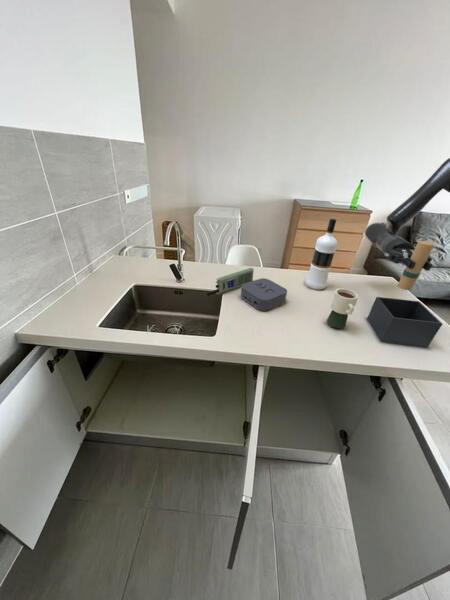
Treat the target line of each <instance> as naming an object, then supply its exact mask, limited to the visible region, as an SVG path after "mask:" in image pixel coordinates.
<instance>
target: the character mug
mask: <svg viewBox="0 0 450 600" xmlns="http://www.w3.org/2000/svg"><path fill="white" fill-rule="evenodd" d="M358 299H359V294H358V293H357V292H356V291H354V290H351V289H349V288H343V287H341V288H336V289H335V291H334V294H333V298H332V300H331V303H330V309H331V311H330V313H329V315H328V316H327V319H326V323H327V325H328V326H330V327H332V328H335V329H339V330H340V329H341V330H344V329H345V328H346V326H347V324H348V323H347V322H348V318H349V316H350V315H352V314H353V312H354V310H355V309H354V308H355V307H356V304H357V303H358V302H357V301H358Z"/></svg>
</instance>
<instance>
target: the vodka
mask: <svg viewBox="0 0 450 600" xmlns="http://www.w3.org/2000/svg"><path fill="white" fill-rule="evenodd" d="M337 220H338V219H336V218H329V222H328V224H327V228H326V232H325V234H324V235H322V236H319V237H318V238H317V239H316V242H315V245H314V252H313V255H312V259H311V263H310V268H309V271H308V274H307V277H306V278H305V281H304V282H305V285H306V286H307V287H308V288H310V289H313V290H317V291H318V290H324V289H325V288H326V287H327V285H328V278H329V273H330V270H331V269H332V263H333V260H334V256H335V253H336V251H337V247H338V240H337V239H336V238H335V237H334V236H333V234H334V231H335V227H336V223H337Z"/></svg>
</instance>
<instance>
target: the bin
mask: <svg viewBox="0 0 450 600" xmlns="http://www.w3.org/2000/svg"><path fill="white" fill-rule="evenodd" d="M366 320H367V321H368V323H369V324H370V326H371V327H372V329H373V331H374V333H375V334H376V336H377V337H378V339H379V341H380V342H381V343H386V344H395V345H403V346H412V347H420V348H427V349H428V347H429V346H430V344H431V343H432V341H433V340H434V338H435V337H436V335H437V333H438V332H439V331H440V329H441V327H442V326H443V322H441V320H440V319H438V318H437V317H436V316H435V315H434V314H433V313H432V312H431V311H430V310H429V309H428V308H427V307H426V306H425V305H424V304H422V302H421V301H419V300H411V299H402V298H392V297H382V296H376V297H375V299H374V301H373V303H372V306H371V309H370V311H369V313H368V315H367V317H366Z"/></svg>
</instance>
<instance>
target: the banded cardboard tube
mask: <svg viewBox="0 0 450 600" xmlns="http://www.w3.org/2000/svg"><path fill="white" fill-rule="evenodd" d="M434 247H435V243H433V242H430V241H426V240H418V242H417V243H416V246H415V247H414V252H413V254H412V256H411V258H410V259H411V260H413V261H414V262H415V263H416V264H415V266H414V268H413V269H409V268H408V267H407V266H405V268H404V269H403V272H402V275H401V277H400V280H399V282H398V283H397V287H398V288H400V289H402V290H405V291H411V290H412V289H413V287H414V286H415V284H416V282H417V280H418V279H419V277H420V276H421V272H422V270H423V266H424V264H425V262H426V260H427V258H428V257H429V255H430V254H431V253H432V251H433V249H434ZM430 256H431V255H430Z"/></svg>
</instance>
